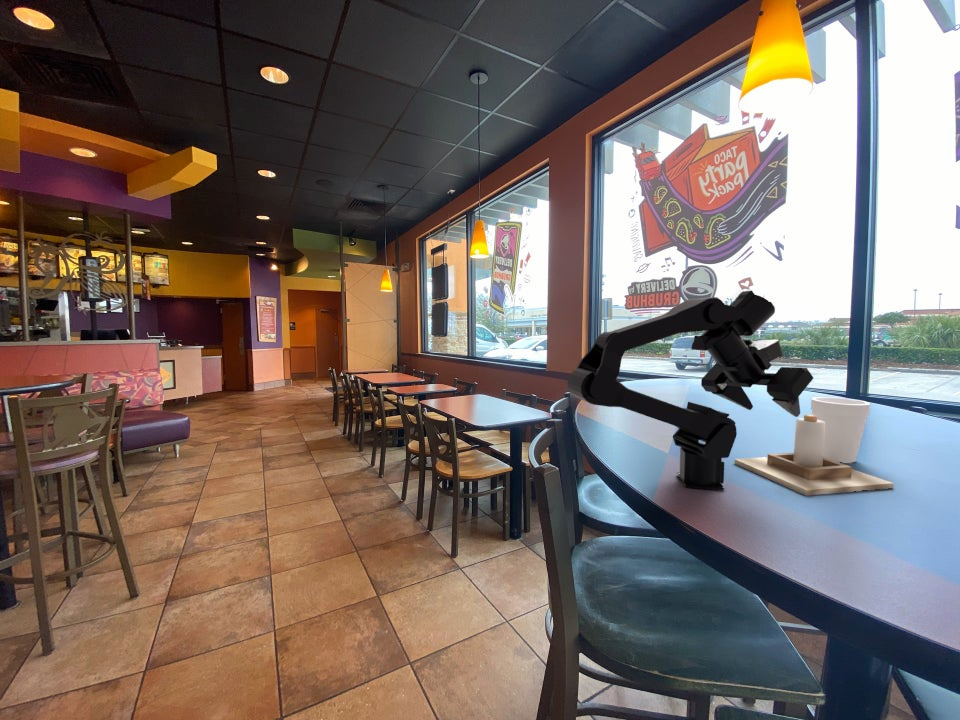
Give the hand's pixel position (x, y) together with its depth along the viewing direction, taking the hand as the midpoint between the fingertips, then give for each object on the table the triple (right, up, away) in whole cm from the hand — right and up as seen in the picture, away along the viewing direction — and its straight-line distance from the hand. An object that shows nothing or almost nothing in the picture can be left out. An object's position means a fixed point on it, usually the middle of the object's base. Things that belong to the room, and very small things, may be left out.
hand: (773, 411), depth 75 cm
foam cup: (+22, -12, +11) cm, 27 cm away
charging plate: (+8, -13, +2) cm, 15 cm away
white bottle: (+8, -12, +1) cm, 14 cm away
